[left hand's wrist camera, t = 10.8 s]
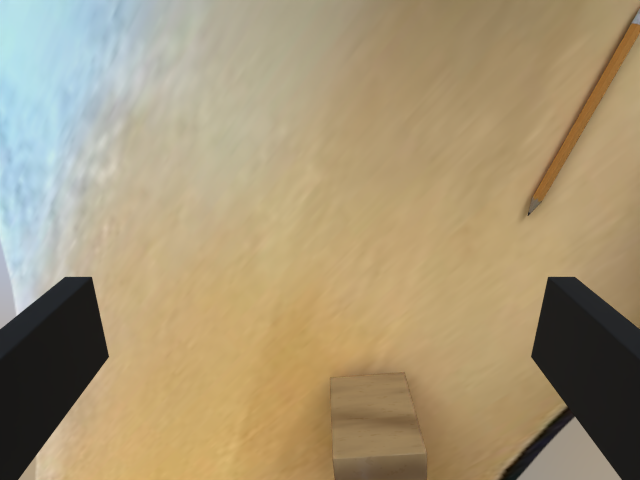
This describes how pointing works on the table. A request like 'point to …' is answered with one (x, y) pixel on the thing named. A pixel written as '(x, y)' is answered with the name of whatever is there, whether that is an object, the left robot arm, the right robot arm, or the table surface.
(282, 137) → the table surface
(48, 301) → the left robot arm
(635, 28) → the pencil
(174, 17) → the table surface
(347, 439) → the box
